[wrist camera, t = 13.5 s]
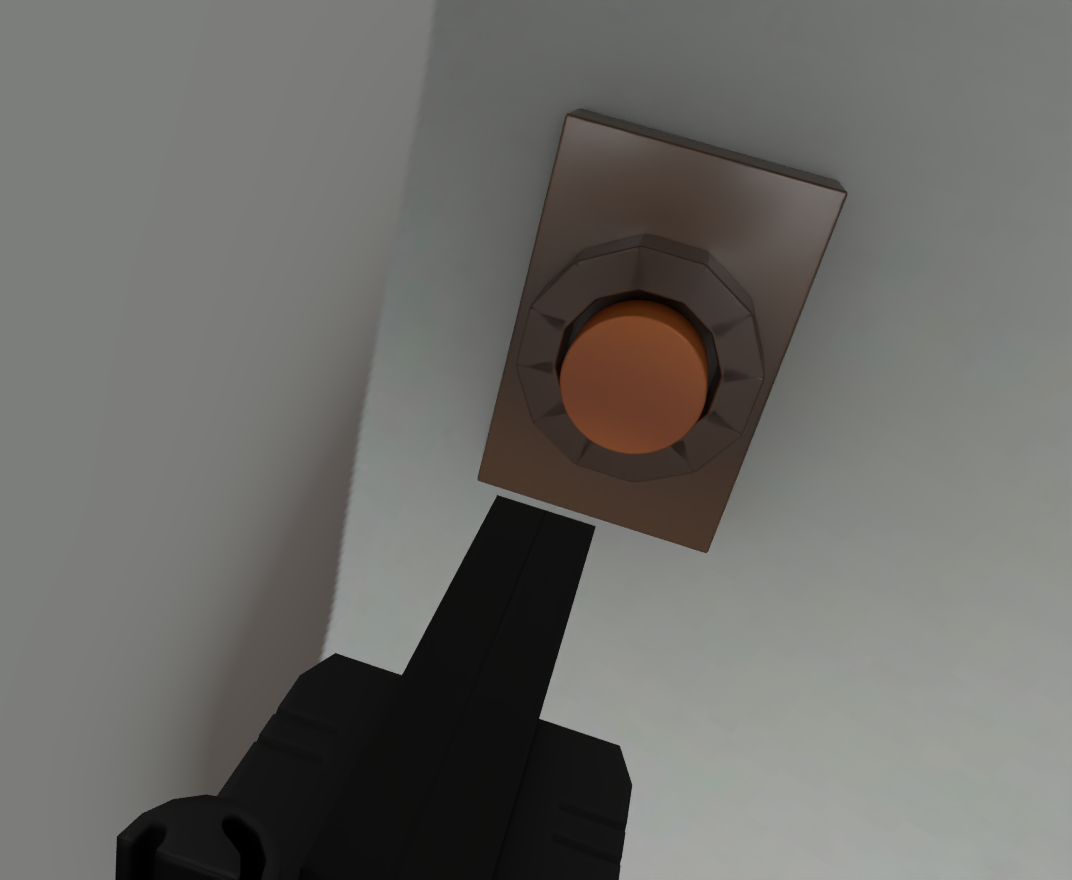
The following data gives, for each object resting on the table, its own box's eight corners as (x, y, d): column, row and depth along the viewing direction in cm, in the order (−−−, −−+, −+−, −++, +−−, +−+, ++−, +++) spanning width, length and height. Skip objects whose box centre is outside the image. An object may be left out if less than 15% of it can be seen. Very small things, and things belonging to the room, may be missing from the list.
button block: (578, 107, 27) (554, 117, 23) (839, 181, 26) (857, 202, 23) (492, 454, 32) (461, 505, 28) (708, 522, 31) (705, 584, 28)
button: (589, 281, 25) (580, 297, 24) (727, 322, 25) (727, 341, 23) (555, 408, 27) (543, 430, 25) (683, 447, 27) (680, 473, 25)
